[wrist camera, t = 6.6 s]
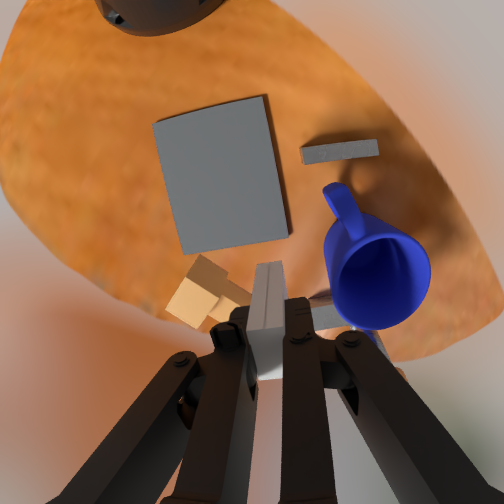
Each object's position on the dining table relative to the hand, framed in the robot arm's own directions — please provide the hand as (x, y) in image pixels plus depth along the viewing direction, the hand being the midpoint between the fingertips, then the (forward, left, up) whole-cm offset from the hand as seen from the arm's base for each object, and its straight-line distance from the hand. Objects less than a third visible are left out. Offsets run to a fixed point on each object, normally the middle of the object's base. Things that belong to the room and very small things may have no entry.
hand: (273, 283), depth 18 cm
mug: (+2, +7, -14) cm, 15 cm away
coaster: (-5, -4, -13) cm, 15 cm away
